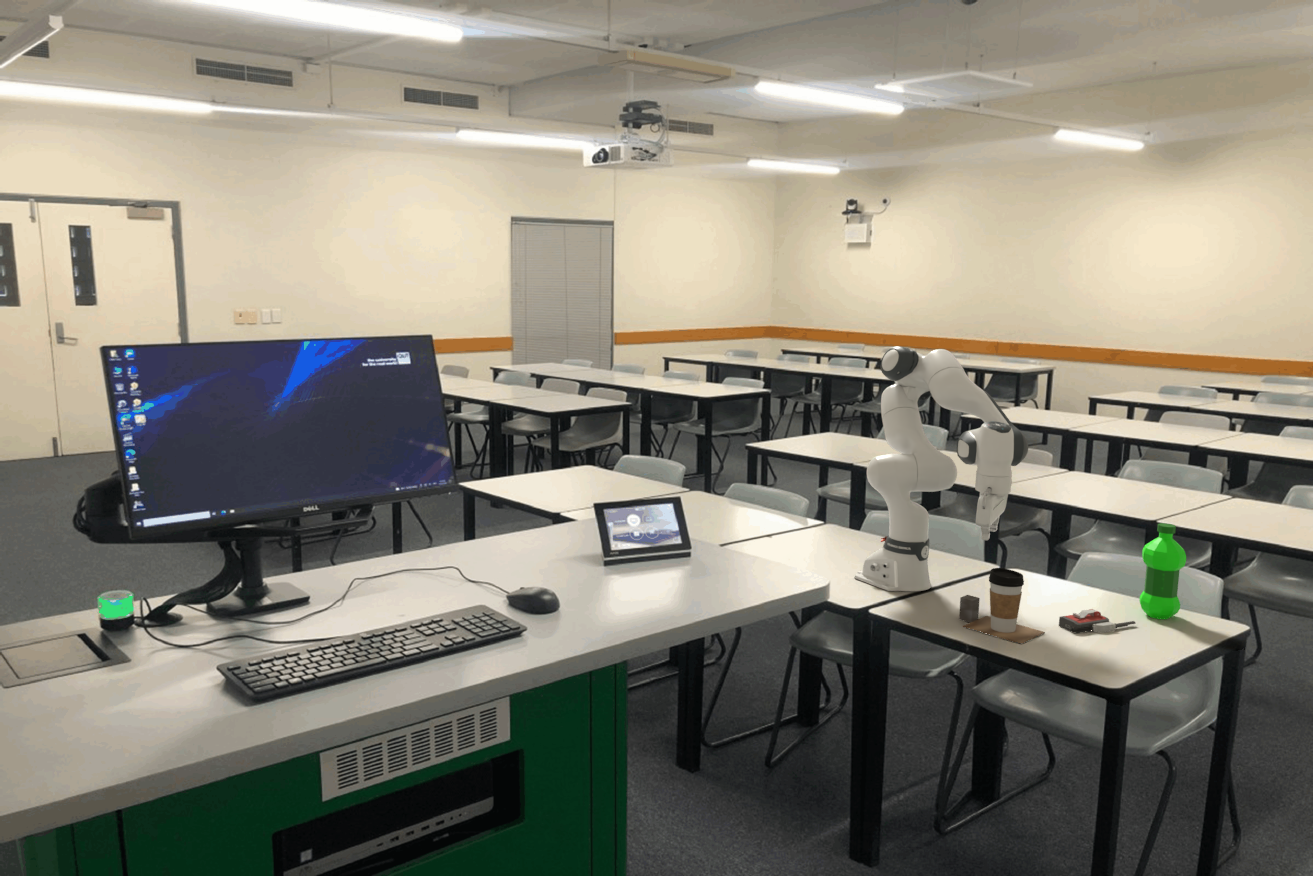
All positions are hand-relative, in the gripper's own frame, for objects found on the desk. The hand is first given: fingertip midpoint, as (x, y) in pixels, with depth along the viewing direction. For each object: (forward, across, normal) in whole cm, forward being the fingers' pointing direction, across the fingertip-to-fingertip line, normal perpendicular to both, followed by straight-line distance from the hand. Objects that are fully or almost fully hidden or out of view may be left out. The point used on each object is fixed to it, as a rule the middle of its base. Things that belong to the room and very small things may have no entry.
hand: (989, 535), depth 254 cm
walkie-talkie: (+22, +5, -27) cm, 35 cm away
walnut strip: (+21, -10, -6) cm, 24 cm away
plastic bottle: (+22, +23, -40) cm, 51 cm away
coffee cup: (+21, -11, -7) cm, 25 cm away
